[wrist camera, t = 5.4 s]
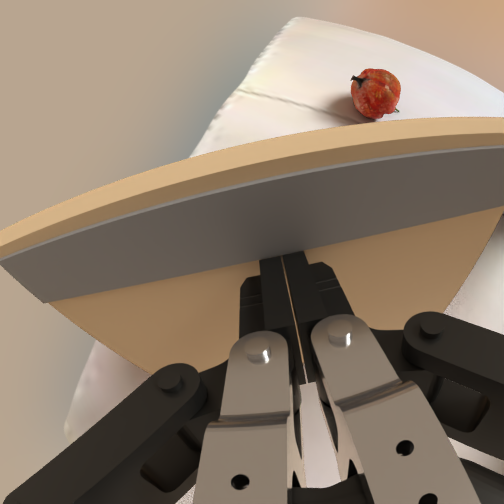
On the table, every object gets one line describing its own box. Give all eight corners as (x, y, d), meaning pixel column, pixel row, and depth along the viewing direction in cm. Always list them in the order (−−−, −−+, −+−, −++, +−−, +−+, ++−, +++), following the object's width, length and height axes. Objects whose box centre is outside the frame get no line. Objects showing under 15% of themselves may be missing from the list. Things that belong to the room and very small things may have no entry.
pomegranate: (381, 102, 40) (335, 68, 36) (416, 86, 34) (370, 44, 29) (381, 139, 39) (332, 104, 35) (421, 124, 32) (372, 81, 28)
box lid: (427, 315, 19) (433, 328, 18) (164, 370, 21) (164, 384, 20) (517, 118, 7) (537, 135, 6) (0, 230, 8) (-11, 253, 8)
